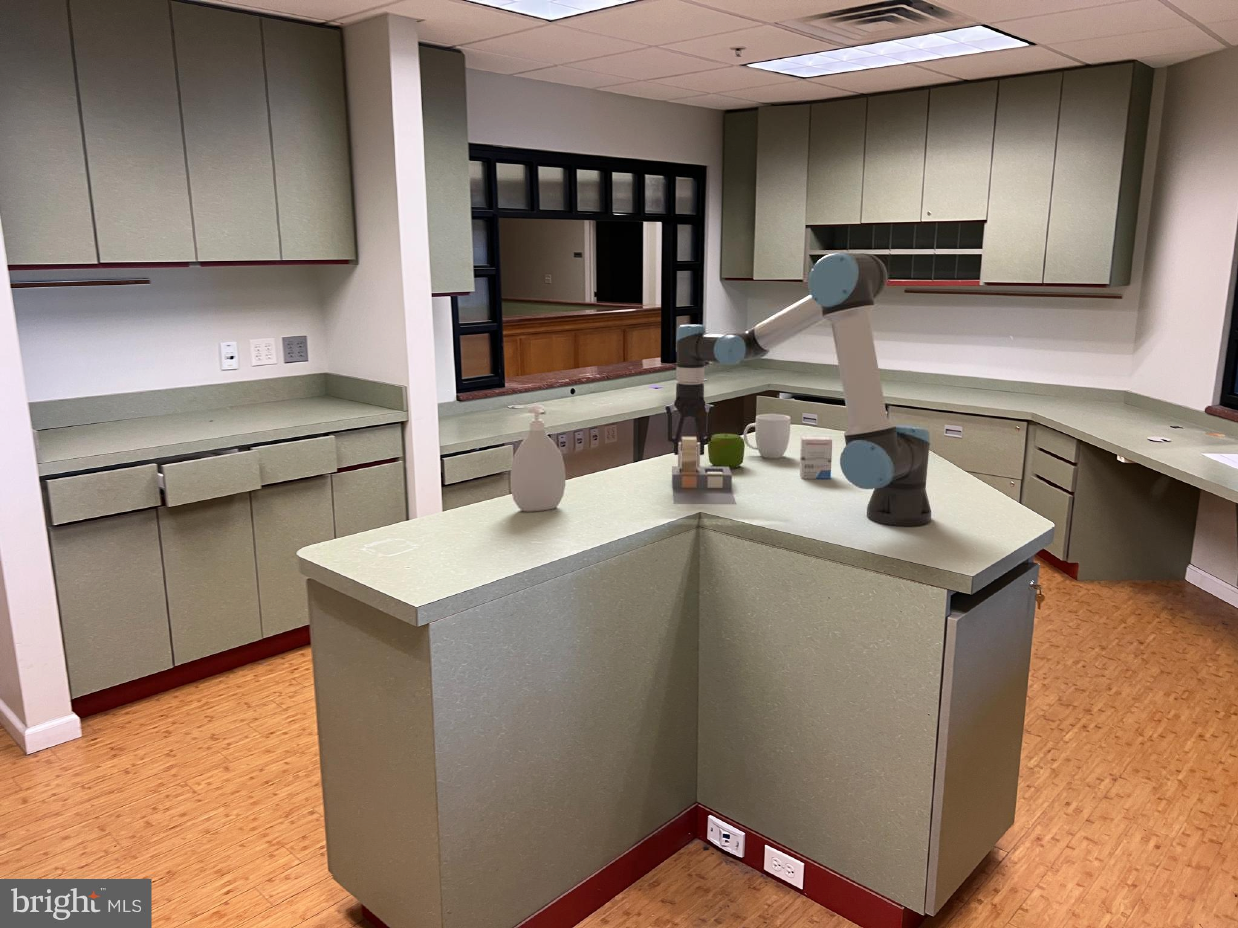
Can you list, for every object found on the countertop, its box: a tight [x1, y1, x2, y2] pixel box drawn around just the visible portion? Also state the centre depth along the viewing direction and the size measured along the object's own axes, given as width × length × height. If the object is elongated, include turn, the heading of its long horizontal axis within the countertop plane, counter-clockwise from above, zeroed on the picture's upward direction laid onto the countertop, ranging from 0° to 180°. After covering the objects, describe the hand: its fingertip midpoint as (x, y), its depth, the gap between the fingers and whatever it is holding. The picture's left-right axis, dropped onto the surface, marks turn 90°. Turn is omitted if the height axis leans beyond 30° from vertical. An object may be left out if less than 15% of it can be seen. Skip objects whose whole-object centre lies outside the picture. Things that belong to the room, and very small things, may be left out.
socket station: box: [671, 465, 737, 505], centre depth 237 cm, size 26×16×6 cm, turn 178°
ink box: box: [799, 436, 833, 480], centre depth 256 cm, size 9×5×12 cm, turn 84°
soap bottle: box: [509, 403, 566, 513], centre depth 220 cm, size 14×8×27 cm, turn 114°
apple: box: [707, 432, 746, 470], centre depth 270 cm, size 11×11×11 cm
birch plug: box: [681, 436, 698, 472], centre depth 242 cm, size 4×4×12 cm
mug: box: [743, 413, 791, 460], centre depth 284 cm, size 15×11×13 cm
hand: (688, 466), depth 243 cm, fingers open, 4 cm apart
